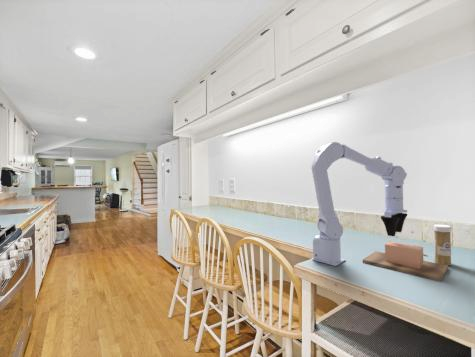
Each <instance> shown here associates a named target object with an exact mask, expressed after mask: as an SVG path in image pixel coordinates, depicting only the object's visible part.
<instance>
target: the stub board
mask: <svg viewBox="0 0 475 357" xmlns="http://www.w3.org/2000/svg"><path fill="white" fill-rule="evenodd" d="M362 263H363V264H368V265H372V266H376V267H381V268H383V269H388V270H392V271H398V272H401V273H404V274H409V275H413V276H417V277H422V278H424V279H429V280H433V281H438V282H442V280H443V278H444V277H445V275H446V273H447V272H448V270H449V265H448V266H447V265H442V264H437V263H435V262H431V261H427V260H423V266H422V267H421V268H420V269H419V268H414V267H410V266H405V265H401V264H396V263H392V262H387V261H385V252H383V251H382V252H381V251H374V252H372V253H371V254H369V255H368V256H366V257H364V258H363V259H362Z"/></svg>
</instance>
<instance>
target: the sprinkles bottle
mask: <svg viewBox="0 0 475 357" xmlns="http://www.w3.org/2000/svg"><path fill="white" fill-rule="evenodd" d="M433 231H434V240H433V242H434V263H437V264H442V265H447V266H448V267H449V266H452V245H451V244H452V243H451V242H452V241H451V240H452V239H451V232H452V228H451V225H447V224H434V225H433Z"/></svg>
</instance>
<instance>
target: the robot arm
mask: <svg viewBox="0 0 475 357" xmlns="http://www.w3.org/2000/svg"><path fill="white" fill-rule="evenodd" d="M341 159H346V160H349V161H351V162H354V163H356V164H359V165H362V166H364V168H365V170H366V171H367V172H369V173H372V174H374V175H376V176H378V177H381V179H382V180H383V181H384V207H385V208H384V211H383V212H384V213H383V214H384V215H381V216H380V219H381V221H382V222H383V224H384V227H385V231H386V234H387V236H390V237H395V236H396V233H402V231H403V227H404V222H405V220H406V218H407V216H408V210H407V209H404V184H405V182H404V181H405V179H406V178H407V175H408V174H407V172H406V170H405V169H404V168H403V167H402V166H400V165H394V164H393V163H392V162H387V161H385V160H383V159H382V157H381V156H372V157H368V156H366V155H364V154H363V153H360V152H359V151H356V150H354V149H353V148H351V147H349V146H347V145H346V144H344V143H343V144H341V143H340V142H338V141H333V142H331V143H328V144H322V145H321V146H320V147H319V148H318V149H317V150H316V151H315V156H314V158H313V161H312V164H311V172H312V178H313V182H314V188H315V193H316V194H315V195H316V200H317V205H318V210H319V214H318V215H317V219H318V221H317V225H316V226H317V229H318V231H319V232H320V234H319V235H318V234H317V235H315V236H314V238H313V240H312V259H311V260H312V261H316V262H320V263H324V264H326V265H331V266H334V267H336V266H338V265H340V264H342V263H343V262H345V261H346V259H345V258H342V255H341V250H342V249H341V237H342V236H343V233H344V228H343V225H342V224H341V223H340V220H339V217H338V215H337V214H336V212H335V207H334V203H333V202H334V201H333V196H332V190H331V186H330V180H329V179H330V178H329V174H328V173H329V172H328V169H329V168H330V167H331V166H332V164H333V163H335V162H337V161H338V160H341Z"/></svg>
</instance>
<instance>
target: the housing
mask: <svg viewBox="0 0 475 357" xmlns="http://www.w3.org/2000/svg"><path fill="white" fill-rule="evenodd" d="M384 253H385V261H387V262H392V263H396V264H401V265H405V266H410V267H414V268H419V269H420V268H421V267H422V266H423V261H424V247H423V246H419V245H413V244H407V243H401V242H396V241H391V240H390V241H388V242H386V243H385V244H384Z"/></svg>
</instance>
